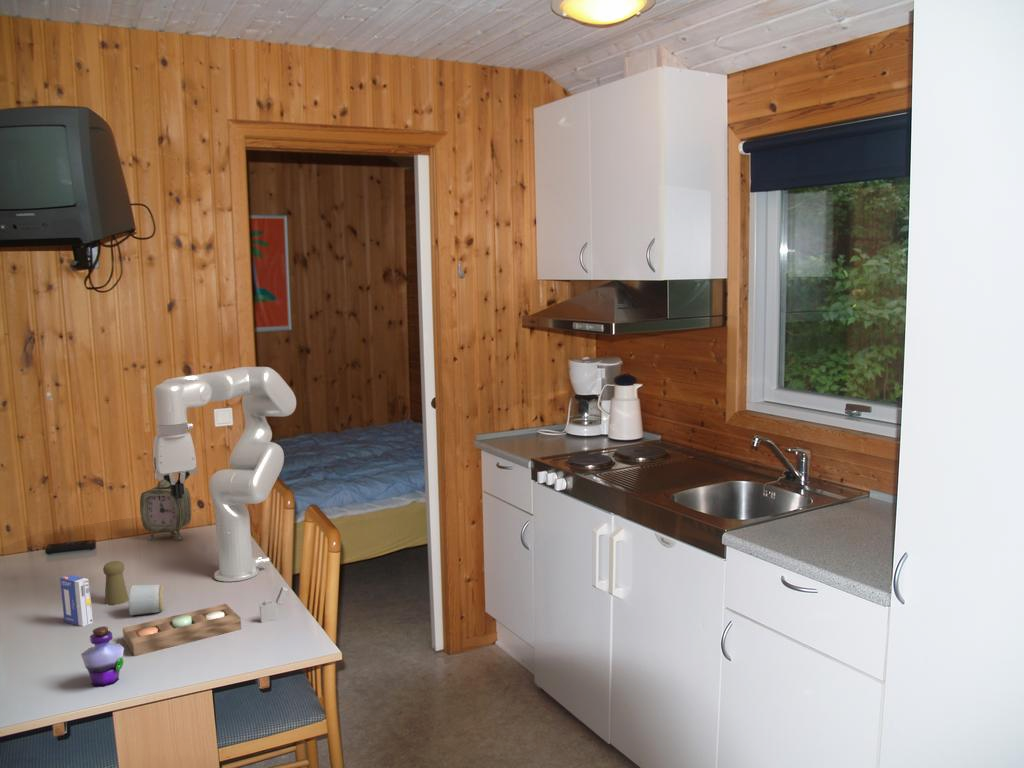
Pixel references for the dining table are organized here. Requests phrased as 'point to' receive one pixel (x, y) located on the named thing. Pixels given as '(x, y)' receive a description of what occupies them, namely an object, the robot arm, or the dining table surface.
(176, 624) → the sage button
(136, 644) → the button deck
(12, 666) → the dining table surface
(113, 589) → the cork
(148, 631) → the terracotta button
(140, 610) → the ceramic mug
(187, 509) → the tabletop clock
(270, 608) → the lighter
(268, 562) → the robot arm
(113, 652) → the potion bottle
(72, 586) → the walkman
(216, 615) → the cream button
